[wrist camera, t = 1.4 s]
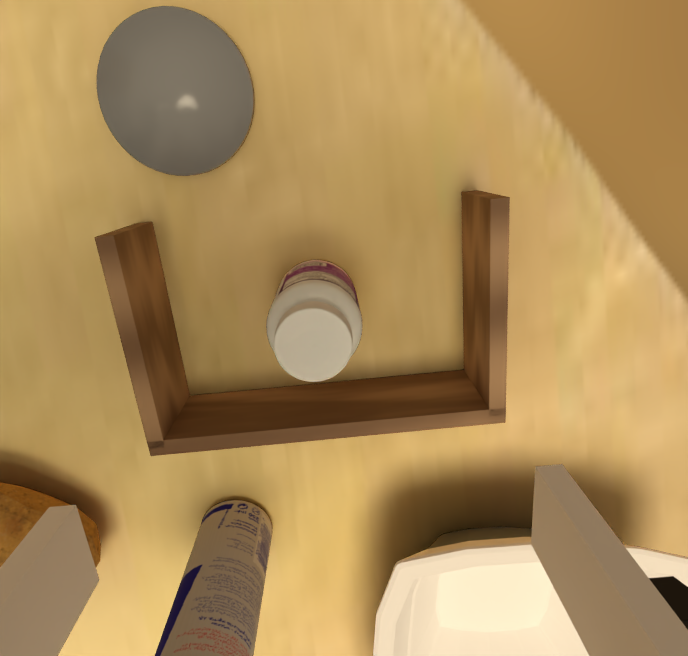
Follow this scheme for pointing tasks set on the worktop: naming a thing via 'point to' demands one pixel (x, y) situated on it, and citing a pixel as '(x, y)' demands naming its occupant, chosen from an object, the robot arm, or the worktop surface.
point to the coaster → (175, 91)
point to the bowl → (486, 598)
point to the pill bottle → (314, 321)
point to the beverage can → (221, 585)
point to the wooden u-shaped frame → (313, 399)
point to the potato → (33, 518)
